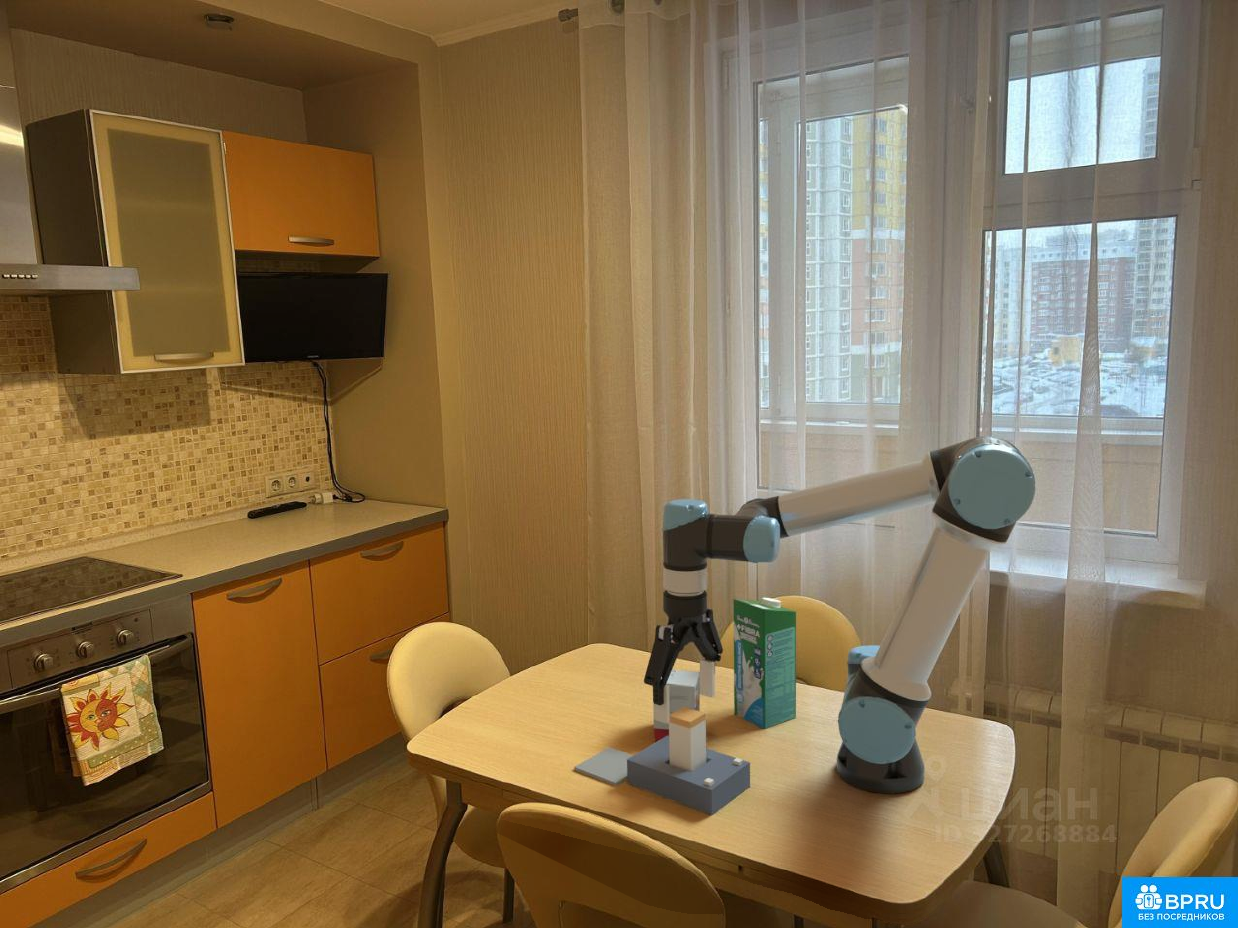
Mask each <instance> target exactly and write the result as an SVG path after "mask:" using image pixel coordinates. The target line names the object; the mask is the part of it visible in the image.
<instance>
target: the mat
mask: <svg viewBox="0 0 1238 928" xmlns="http://www.w3.org/2000/svg"><path fill="white" fill-rule="evenodd" d="M632 756H634V755H632V754H630V753H628V752H624V751H621V750H618V749H615V748H613V747H610V746H608V747H607V748H605V749H603V750H601V751H600V752H598V753H596V754H595V755H592V756H591V757H589V758H588V759H586V760H584V761H582V762H580V763H579V764H577V765H575V766H574V768H573V771H576V772H579V773H580V774H584V775H586V776H588V777H591V778H594V779H597V780H599V781H602V782H604V783H607V784H610V785H611V786H615V787H617V786H618V785H620V784H622V783H624V782H625V781H627V759H629V758H630V757H632Z"/></svg>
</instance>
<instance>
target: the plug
mask: <svg viewBox="0 0 1238 928" xmlns="http://www.w3.org/2000/svg"><path fill="white" fill-rule="evenodd" d="M706 724H707V718H706V712H703V711H697V710H694V709H690V708H687V707H683V708H681V709H679V710H678V711H676V712H674V713H672V714H670V722H669V751H670V765H672V766H675V767H678V768H681V769H684V770H687V771H689V772H694V771H695V770H697V769H698V768H700V767H701V766H703V765H704V764H706V748H707V731H706V729H707V725H706Z"/></svg>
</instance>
